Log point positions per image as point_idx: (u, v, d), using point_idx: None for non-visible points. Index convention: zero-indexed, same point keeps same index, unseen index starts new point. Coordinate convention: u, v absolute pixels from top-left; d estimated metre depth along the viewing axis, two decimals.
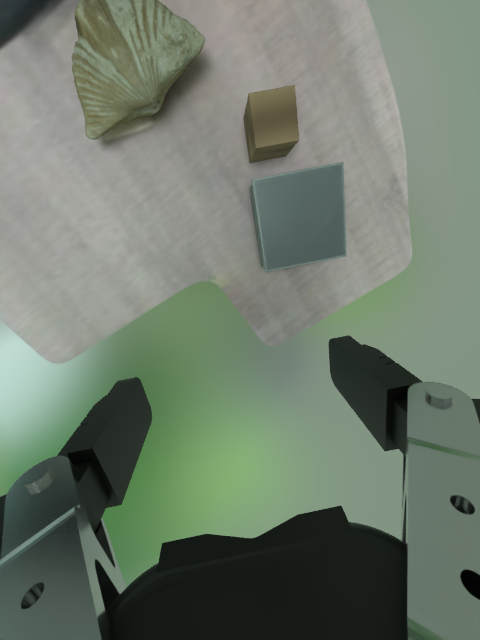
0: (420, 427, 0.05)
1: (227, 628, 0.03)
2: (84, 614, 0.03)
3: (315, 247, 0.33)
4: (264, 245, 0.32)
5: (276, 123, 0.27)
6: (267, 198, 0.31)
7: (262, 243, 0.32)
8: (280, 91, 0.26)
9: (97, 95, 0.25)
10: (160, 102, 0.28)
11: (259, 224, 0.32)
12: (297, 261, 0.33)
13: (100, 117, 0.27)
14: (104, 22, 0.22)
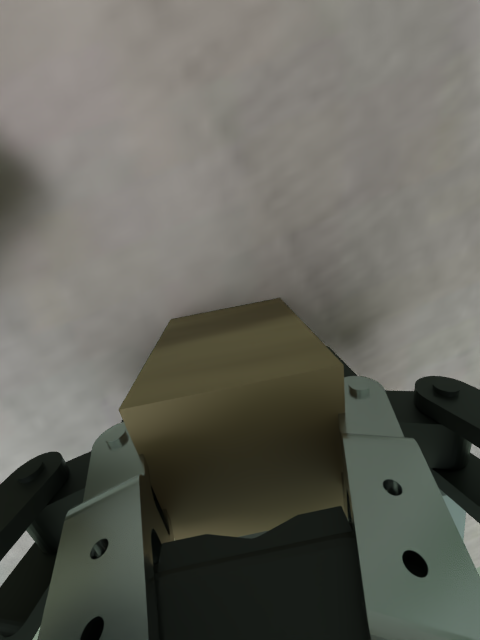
0: (349, 420, 0.06)
1: (227, 628, 0.03)
2: (136, 587, 0.03)
3: None
4: None
5: (257, 484, 0.06)
6: None
7: None
8: (274, 390, 0.05)
9: None
10: None
11: None
12: None
13: None
14: None
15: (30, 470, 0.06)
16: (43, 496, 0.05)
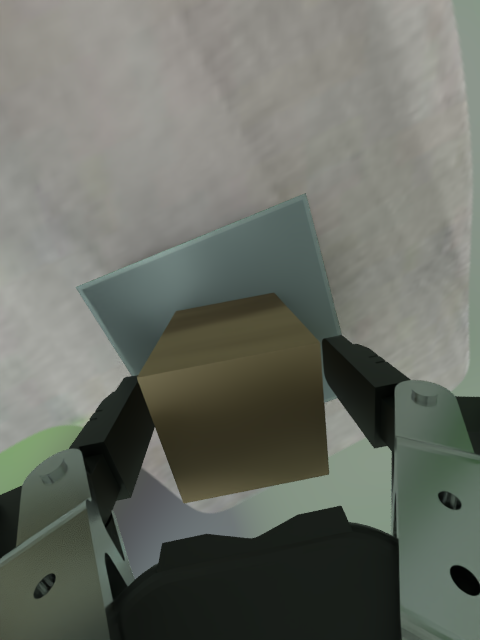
0: (407, 425, 0.05)
1: (227, 628, 0.03)
2: (93, 608, 0.03)
3: None
4: None
5: (250, 445, 0.08)
6: (131, 320, 0.12)
7: None
8: (263, 363, 0.07)
9: None
10: None
11: (133, 374, 0.13)
12: None
13: None
14: None
15: None
16: None
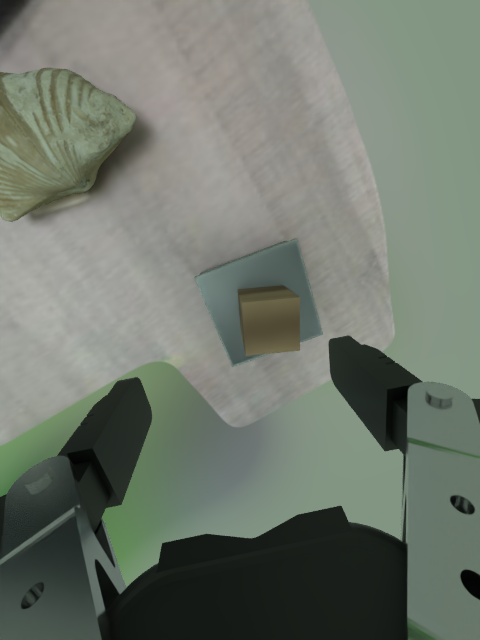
0: (420, 427, 0.05)
1: (227, 628, 0.03)
2: (84, 614, 0.03)
3: None
4: (224, 340, 0.28)
5: (273, 333, 0.22)
6: (216, 293, 0.26)
7: (221, 339, 0.28)
8: (281, 302, 0.21)
9: (4, 180, 0.21)
10: (90, 180, 0.24)
11: (213, 320, 0.27)
12: None
13: (14, 200, 0.22)
14: None
15: None
16: None
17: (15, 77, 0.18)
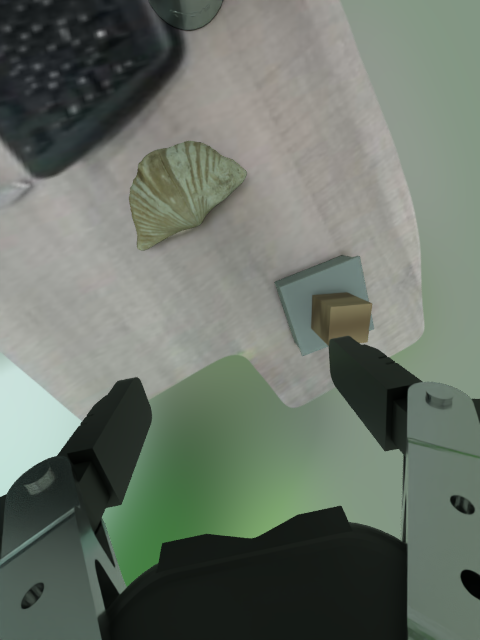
0: (420, 427, 0.05)
1: (227, 628, 0.03)
2: (84, 614, 0.03)
3: None
4: (298, 335, 0.36)
5: (350, 329, 0.29)
6: (295, 299, 0.34)
7: (296, 334, 0.36)
8: (358, 307, 0.29)
9: (152, 223, 0.29)
10: (203, 218, 0.32)
11: (291, 320, 0.35)
12: None
13: (152, 236, 0.30)
14: (166, 179, 0.25)
15: None
16: None
17: (173, 154, 0.26)
